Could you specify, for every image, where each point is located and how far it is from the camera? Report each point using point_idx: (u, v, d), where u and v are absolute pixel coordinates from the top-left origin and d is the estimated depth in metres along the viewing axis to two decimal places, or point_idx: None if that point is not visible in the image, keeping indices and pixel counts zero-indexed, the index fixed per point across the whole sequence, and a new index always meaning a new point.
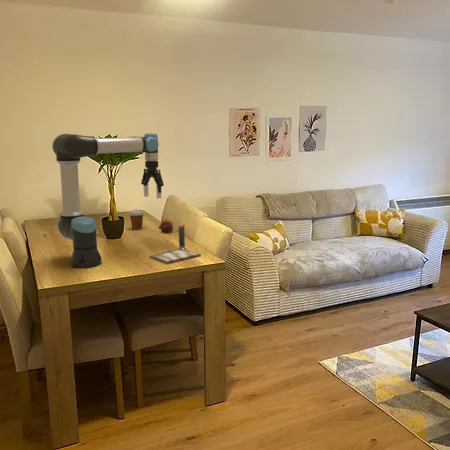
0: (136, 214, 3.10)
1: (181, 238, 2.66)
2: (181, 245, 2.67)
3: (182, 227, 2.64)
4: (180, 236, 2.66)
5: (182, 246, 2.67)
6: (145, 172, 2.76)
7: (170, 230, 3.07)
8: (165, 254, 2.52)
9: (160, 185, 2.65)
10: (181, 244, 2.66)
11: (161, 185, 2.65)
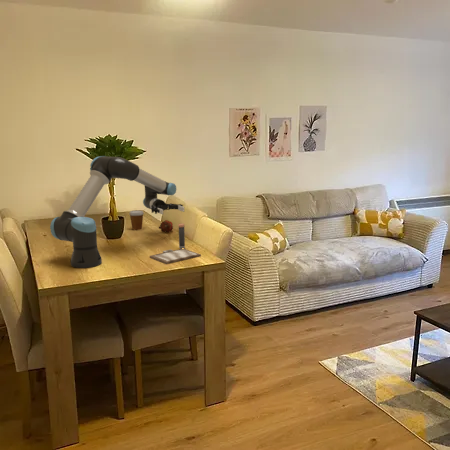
0: (136, 214, 3.10)
1: (181, 238, 2.66)
2: (181, 245, 2.67)
3: (182, 227, 2.64)
4: (180, 236, 2.66)
5: (182, 246, 2.67)
6: (153, 206, 2.81)
7: (170, 230, 3.07)
8: (165, 254, 2.52)
9: (182, 205, 2.83)
10: (181, 244, 2.66)
11: (182, 206, 2.83)
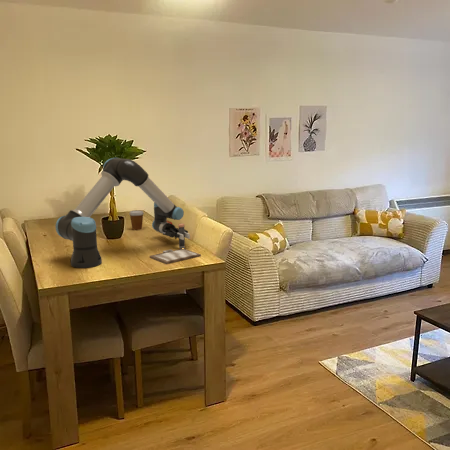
0: (136, 214, 3.10)
1: None
2: (181, 245, 2.67)
3: (182, 227, 2.64)
4: None
5: (182, 246, 2.67)
6: (166, 231, 2.72)
7: None
8: (165, 254, 2.52)
9: (187, 231, 2.71)
10: (181, 244, 2.66)
11: None
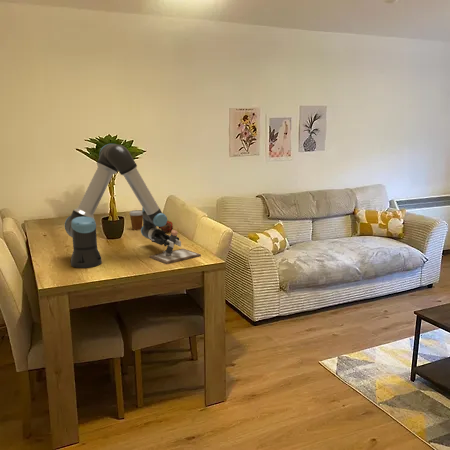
0: (136, 214, 3.10)
1: None
2: (168, 252, 2.47)
3: (175, 235, 2.43)
4: None
5: (169, 253, 2.48)
6: (155, 238, 2.52)
7: (170, 230, 3.07)
8: (165, 254, 2.52)
9: None
10: (169, 251, 2.47)
11: None
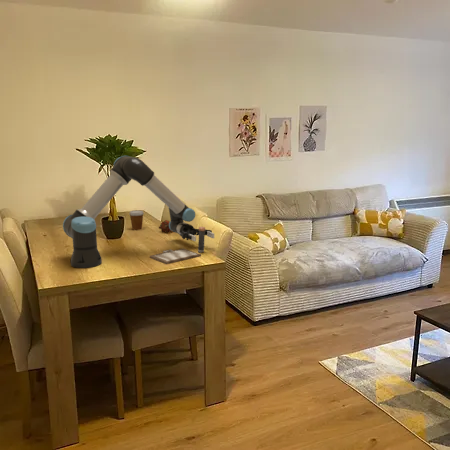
0: (136, 214, 3.10)
1: (200, 242, 2.57)
2: (200, 249, 2.58)
3: (202, 231, 2.55)
4: (199, 239, 2.57)
5: (201, 250, 2.59)
6: (182, 232, 2.64)
7: None
8: (165, 254, 2.52)
9: (211, 230, 2.65)
10: (200, 248, 2.58)
11: (211, 232, 2.66)
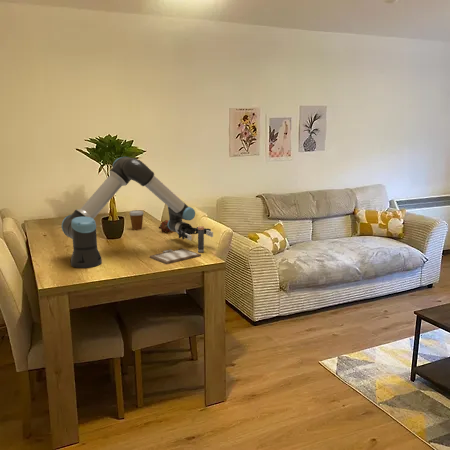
0: (136, 214, 3.10)
1: (200, 241, 2.58)
2: (199, 248, 2.59)
3: (201, 230, 2.57)
4: (199, 239, 2.58)
5: (200, 249, 2.59)
6: (180, 231, 2.66)
7: (170, 230, 3.07)
8: (165, 254, 2.52)
9: (210, 229, 2.69)
10: (199, 247, 2.59)
11: (210, 230, 2.69)
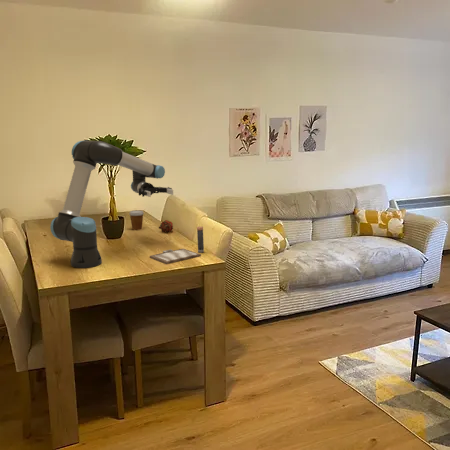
0: (136, 214, 3.10)
1: (199, 241, 2.58)
2: (199, 249, 2.59)
3: (200, 230, 2.56)
4: (198, 239, 2.58)
5: (200, 250, 2.59)
6: (141, 189, 2.68)
7: (170, 230, 3.07)
8: (165, 254, 2.52)
9: (171, 188, 2.70)
10: (199, 248, 2.58)
11: (171, 189, 2.71)
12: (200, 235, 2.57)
